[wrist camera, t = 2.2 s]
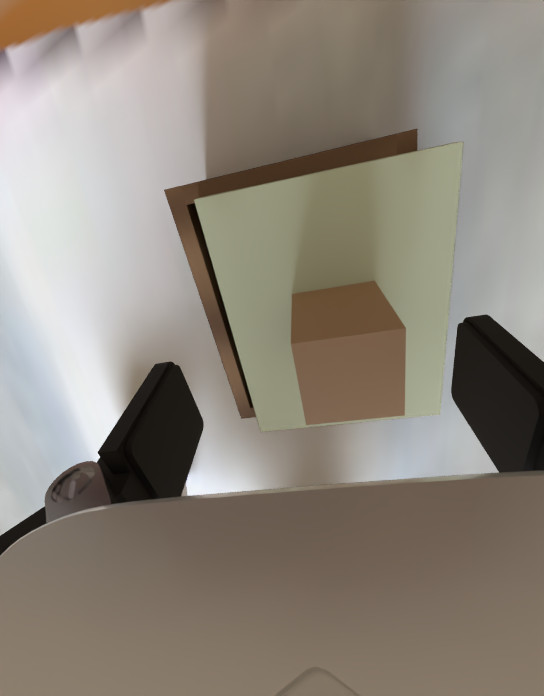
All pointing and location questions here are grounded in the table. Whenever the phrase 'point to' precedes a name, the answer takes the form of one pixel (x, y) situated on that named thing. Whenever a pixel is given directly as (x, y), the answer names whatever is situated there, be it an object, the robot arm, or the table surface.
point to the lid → (340, 287)
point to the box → (186, 194)
